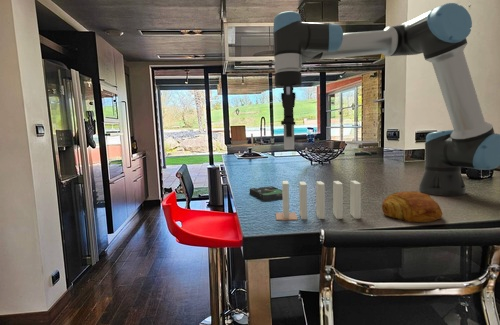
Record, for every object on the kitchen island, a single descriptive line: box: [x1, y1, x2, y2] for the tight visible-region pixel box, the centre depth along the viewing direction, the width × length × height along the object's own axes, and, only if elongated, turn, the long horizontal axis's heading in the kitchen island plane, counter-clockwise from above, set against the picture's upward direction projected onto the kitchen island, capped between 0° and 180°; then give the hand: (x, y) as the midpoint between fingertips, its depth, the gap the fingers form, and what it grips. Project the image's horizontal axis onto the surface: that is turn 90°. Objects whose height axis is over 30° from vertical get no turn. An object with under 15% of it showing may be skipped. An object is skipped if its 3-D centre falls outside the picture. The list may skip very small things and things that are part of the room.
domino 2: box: [298, 181, 308, 220], centre depth 91 cm, size 2×5×10 cm, turn 177°
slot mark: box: [275, 212, 298, 221], centre depth 91 cm, size 6×7×1 cm
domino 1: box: [281, 180, 290, 218], centre depth 91 cm, size 5×2×10 cm, turn 177°
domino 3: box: [315, 180, 326, 220], centre depth 90 cm, size 2×5×10 cm, turn 177°
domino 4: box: [332, 180, 344, 220], centre depth 90 cm, size 2×5×10 cm, turn 177°
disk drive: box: [249, 185, 283, 202], centre depth 121 cm, size 10×3×15 cm
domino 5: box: [349, 180, 362, 220], centre depth 90 cm, size 2×5×10 cm, turn 177°
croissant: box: [381, 190, 443, 223], centre depth 89 cm, size 14×16×8 cm
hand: (289, 147), depth 89 cm, fingers open, 13 cm apart
